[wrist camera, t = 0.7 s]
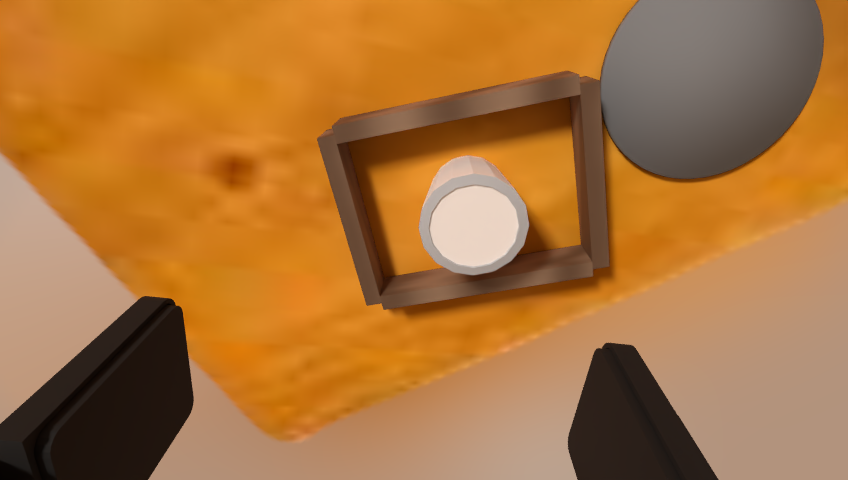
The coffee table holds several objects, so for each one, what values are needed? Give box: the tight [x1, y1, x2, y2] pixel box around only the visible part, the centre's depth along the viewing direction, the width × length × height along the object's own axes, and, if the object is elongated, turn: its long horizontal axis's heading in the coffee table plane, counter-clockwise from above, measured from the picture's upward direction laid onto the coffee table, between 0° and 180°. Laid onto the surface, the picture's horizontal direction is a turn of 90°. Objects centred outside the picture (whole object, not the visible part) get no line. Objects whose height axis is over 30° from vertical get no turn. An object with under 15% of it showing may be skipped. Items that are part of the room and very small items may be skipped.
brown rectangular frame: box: [317, 71, 609, 310], centre depth 34 cm, size 18×14×3 cm
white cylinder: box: [419, 155, 529, 275], centre depth 32 cm, size 7×7×7 cm
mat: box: [600, 0, 824, 179], centre depth 31 cm, size 14×14×1 cm
